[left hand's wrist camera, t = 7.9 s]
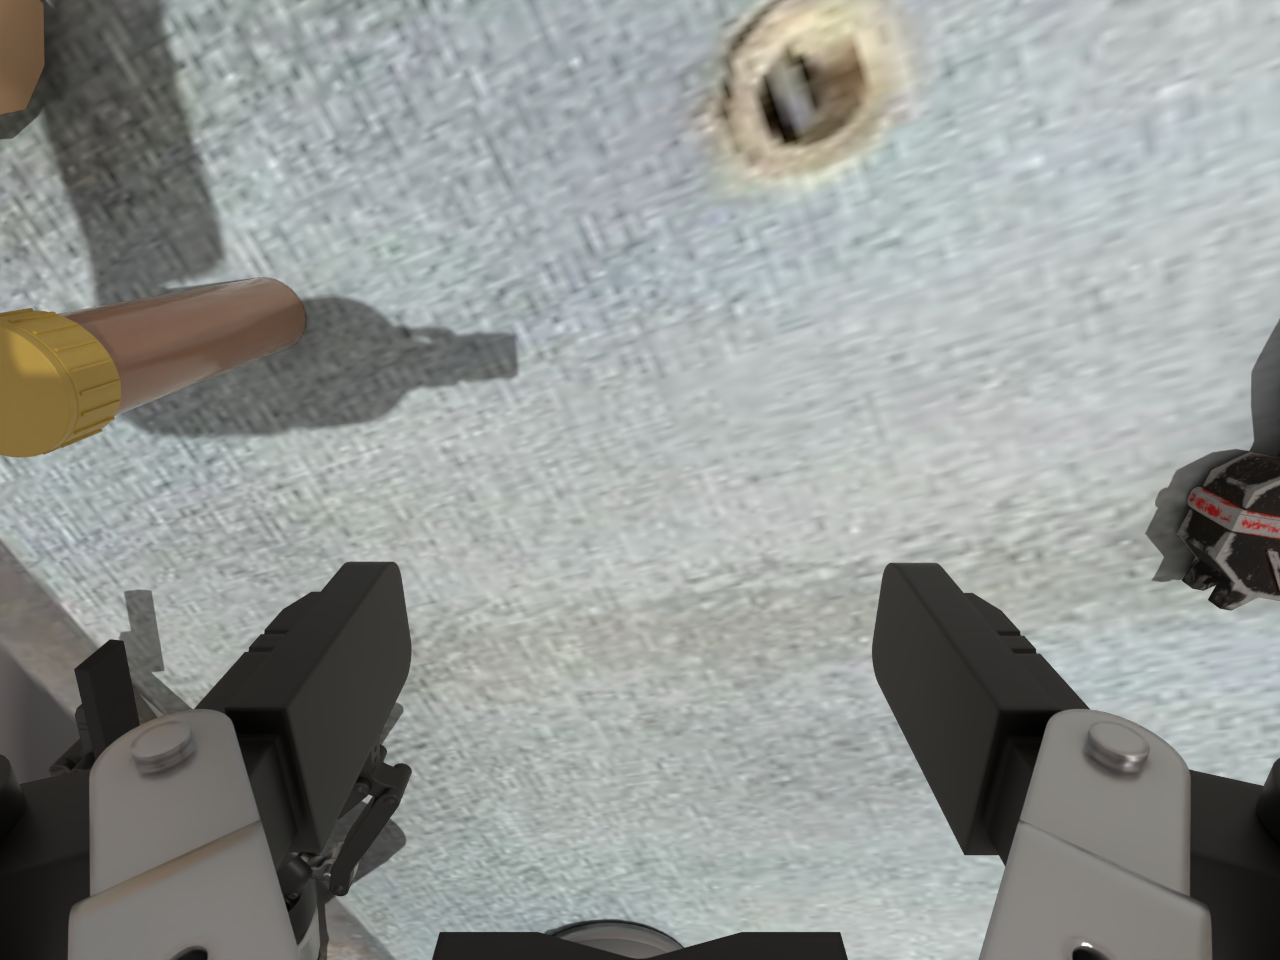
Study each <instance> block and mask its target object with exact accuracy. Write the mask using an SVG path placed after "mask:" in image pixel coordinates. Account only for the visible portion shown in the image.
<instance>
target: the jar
mask: <svg viewBox="0 0 1280 960" xmlns="http://www.w3.org/2000/svg"><path fill="white" fill-rule="evenodd" d="M57 315H60V316H63V317H65V318H68V319H70V320H72V321H74V322H77V323H78V324H79V325H80V326H82V327H83V328H85V329H86V330H87V331H89V332H90V333H91V334H92V335H93V336H94V337H95V338H96V339H97V340H98V341H99V342H100V343H101V344H102V345H103V346H104V348H105V349H106V351H107V352H108V353H109V355H110V357H111V358H112V360H113V362H114V364H115V366H116V369H117V371H118V375H119V378H120V382H121V403H120V404H119V408H118V410H117V412H116V414H115V416H116V415H119V414H122V413H124V412H127V411H129V410H132V409H134V408H137V407H139V406H142V405H144V404H147V403H149V402H152V401H155V400H157V399H160V398H162V397H165V396H167V395H170V394H172V393H175V392H177V391H180V390H182V389H185V388H188V387H190V386H193V385H195V384H198V383H200V382H203V381H205V380H208V379H210V378H213V377H215V376H218V375H221V374H223V373H226V372H228V371H231V370H233V369H236V368H238V367H241V366H243V365H246V364H249V363H251V362H254V361H256V360H259V359H261V358H264V357H266V356H269V355H271V354H274V353H276V352H279V351H282V350H284V349H287V348H289V347H291V346H293V345H294V344H296V343H297V342H298V341H299V340H300V338H301V337H302V335H303V333H304V330H305V326H306V315H305V311H304V308H303V305H302V303H301V301H300V299H299V298H298V296H297V295H296V294H295V293H294V292H293V291H292V290H291V289H290V288H289V287H288V286H286V285H285V284H283V283H281V282H279V281H277V280H275V279H271V278H264V277H263V278H254V279H248V280H243V281H237V282H231V283H226V284H220V285H215V286H209V287H204V288H198V289H192V290H187V291H181V292H176V293H170V294H164V295H159V296H153V297H148V298H142V299H137V300H131V301H125V302H120V303H114V304H109V305H103V306H97V307H92V308H86V309H81V310H75V311H70V312H64V313H58V314H57Z"/></svg>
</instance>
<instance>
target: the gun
mask: <svg viewBox="0 0 1280 960" xmlns="http://www.w3.org/2000/svg"><path fill="white" fill-rule="evenodd" d="M1187 503H1188V505H1189V506H1190V507H1191V508H1190V510H1189V512H1188V514H1187V516H1186V517H1185V519H1184V521H1183V523H1182V525H1181V527H1180V528H1179V530H1178V532H1177V535H1178V536H1179V537H1180V538H1181V540H1182V541H1183V542H1184V543H1185V544H1186V546H1187V547H1188V548H1189V549H1190V551H1191V552H1192V553H1193V554H1194V555H1195V559H1194V561H1193V563H1192V565H1191V566H1190V568H1189V570H1188V572H1187V573H1186V575H1185V576H1184V578H1183V580H1182V581H1183V582H1184V583H1186V584H1187V585H1189V586H1190V587H1191V588H1193V589H1198V590H1203V591H1204V590H1206V589H1208V588H1210V587H1212V586H1215V585H1216V587H1215V588H1214V590H1213V592H1212V594H1211V595H1210V597H1209V599H1208V600H1209V601H1210V602H1212V603H1213V604H1214V605H1216V606H1217V607H1218V608H1220V609H1225V610H1233V609H1235V608H1237V607H1239V606H1241V605H1244V604H1246V603H1248V602H1250V601H1252V600H1254V599H1256V598H1258V597H1260V598H1266V599H1271V600H1277V601H1280V457H1276V456H1270V455H1265V454H1259V453H1254V452H1249V453H1246V454H1244V455H1242V456H1240V457H1238V458H1236V459H1234V460H1231V461H1229V462H1227V463H1225V464H1223V465H1221V466H1219V467H1216V468H1214V469H1212V470H1211V472H1210V474H1209V475H1208V477H1207V479H1206V481H1205V483H1204V484H1203V486H1202V487H1196V488H1194V489H1192V490H1191V493H1190V495H1189V497H1188V500H1187Z"/></svg>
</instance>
